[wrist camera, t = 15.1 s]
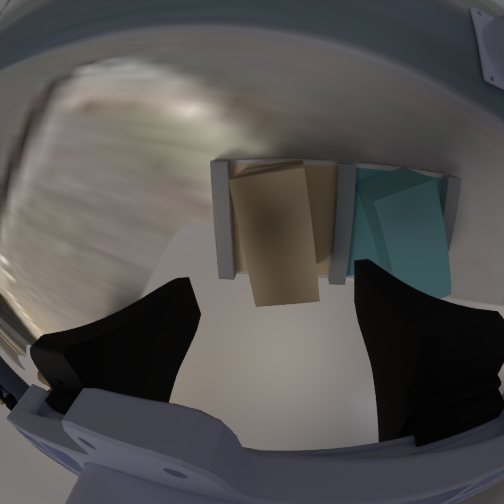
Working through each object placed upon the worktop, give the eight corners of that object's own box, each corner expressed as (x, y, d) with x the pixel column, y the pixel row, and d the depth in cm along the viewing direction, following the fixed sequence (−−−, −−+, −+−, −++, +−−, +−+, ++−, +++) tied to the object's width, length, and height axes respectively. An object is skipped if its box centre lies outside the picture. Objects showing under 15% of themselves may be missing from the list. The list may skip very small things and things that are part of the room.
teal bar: (404, 166, 17) (434, 178, 12) (425, 261, 19) (451, 293, 15) (355, 184, 18) (373, 201, 13) (383, 278, 20) (400, 314, 16)
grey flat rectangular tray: (451, 174, 17) (463, 179, 15) (433, 274, 21) (441, 286, 19) (214, 159, 20) (206, 162, 18) (221, 267, 24) (215, 278, 22)
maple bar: (302, 159, 18) (304, 168, 13) (315, 264, 21) (319, 301, 16) (245, 168, 19) (228, 179, 14) (265, 269, 22) (255, 306, 17)
